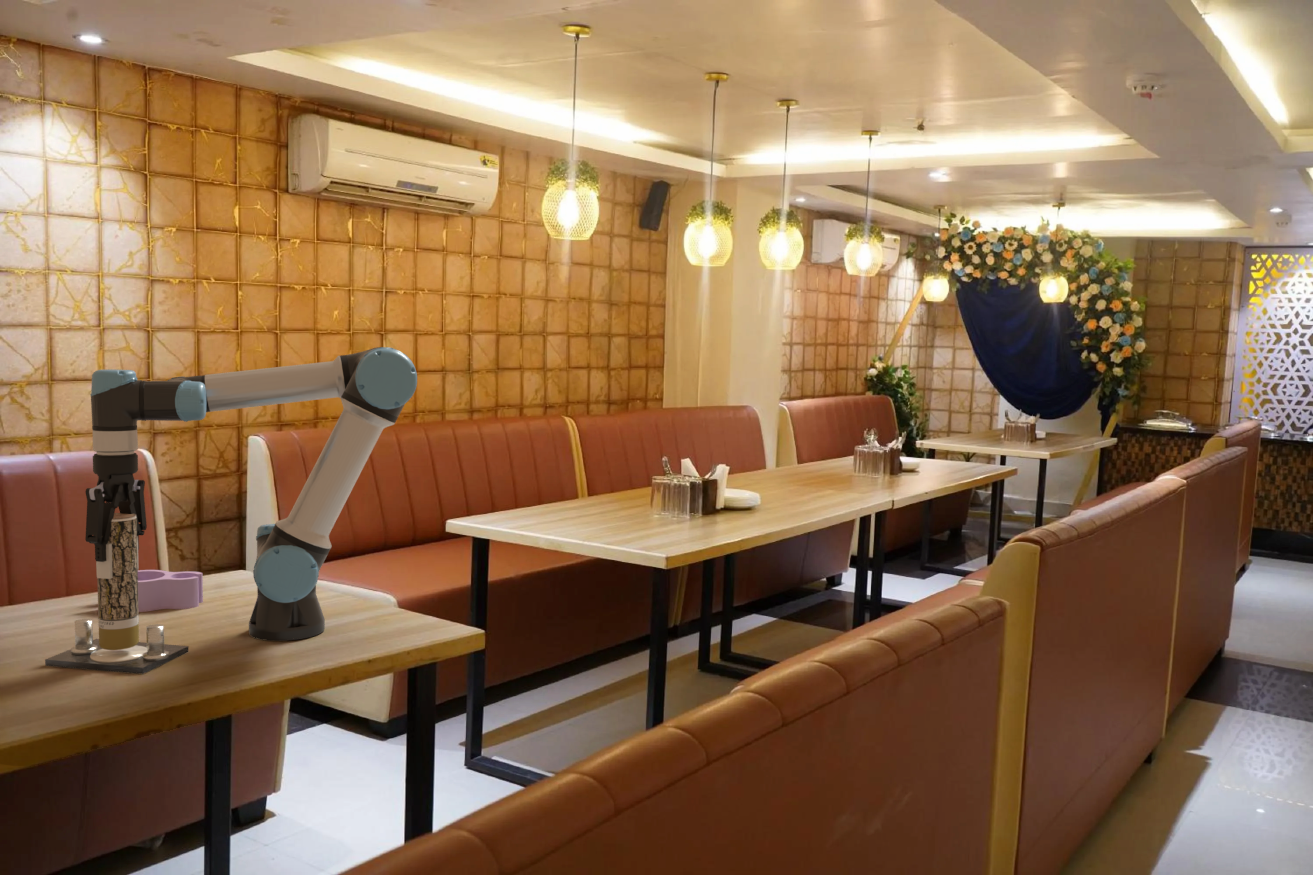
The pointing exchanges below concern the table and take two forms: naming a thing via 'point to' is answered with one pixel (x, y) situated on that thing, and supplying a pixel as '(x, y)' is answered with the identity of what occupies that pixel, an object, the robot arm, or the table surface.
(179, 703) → the table surface
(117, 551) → the paper tube
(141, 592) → the clip
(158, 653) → the collar post
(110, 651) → the white dome cap
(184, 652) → the plate
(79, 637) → the collar post
